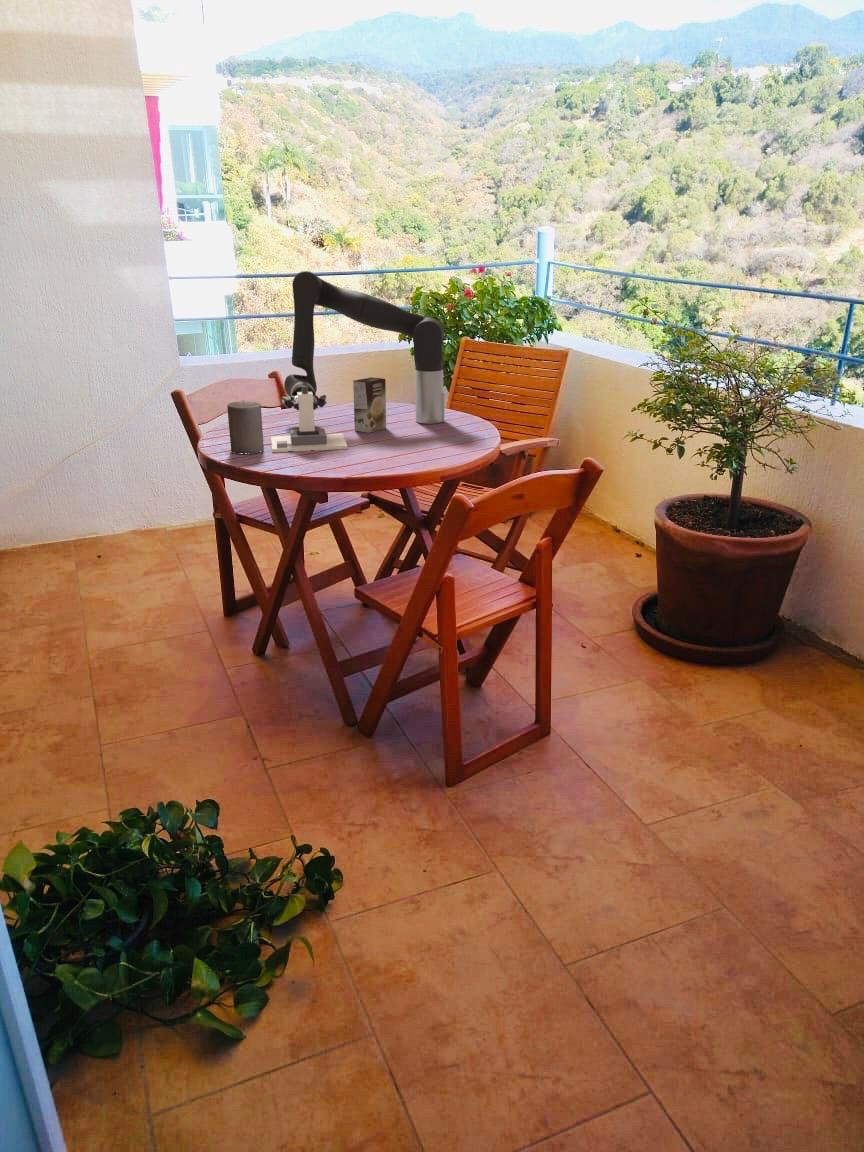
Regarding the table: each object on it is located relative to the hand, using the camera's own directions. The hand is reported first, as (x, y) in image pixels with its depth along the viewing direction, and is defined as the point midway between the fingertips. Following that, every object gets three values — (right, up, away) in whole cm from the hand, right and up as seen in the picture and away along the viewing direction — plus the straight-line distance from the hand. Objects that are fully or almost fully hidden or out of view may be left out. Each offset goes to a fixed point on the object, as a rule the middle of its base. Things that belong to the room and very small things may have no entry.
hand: (306, 406), depth 246 cm
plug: (-1, -6, +5) cm, 8 cm away
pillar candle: (-17, -13, 0) cm, 22 cm away
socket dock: (0, -10, +7) cm, 12 cm away
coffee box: (+17, -3, +25) cm, 30 cm away
